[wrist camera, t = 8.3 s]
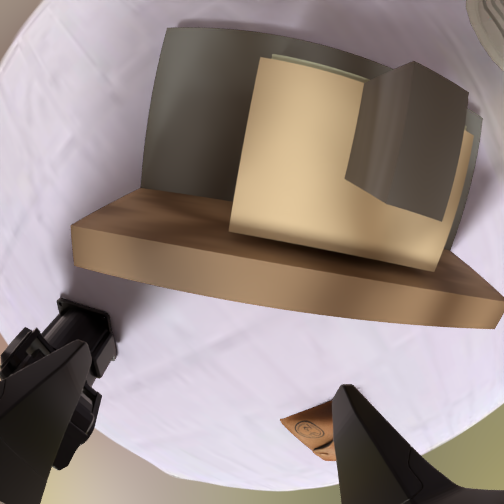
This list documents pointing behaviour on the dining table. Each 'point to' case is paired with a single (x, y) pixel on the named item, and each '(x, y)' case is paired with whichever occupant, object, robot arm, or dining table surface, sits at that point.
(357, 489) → the robot arm
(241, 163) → the wooden block
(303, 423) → the sunglasses case
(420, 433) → the dining table surface
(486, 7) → the french press
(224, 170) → the wall board
